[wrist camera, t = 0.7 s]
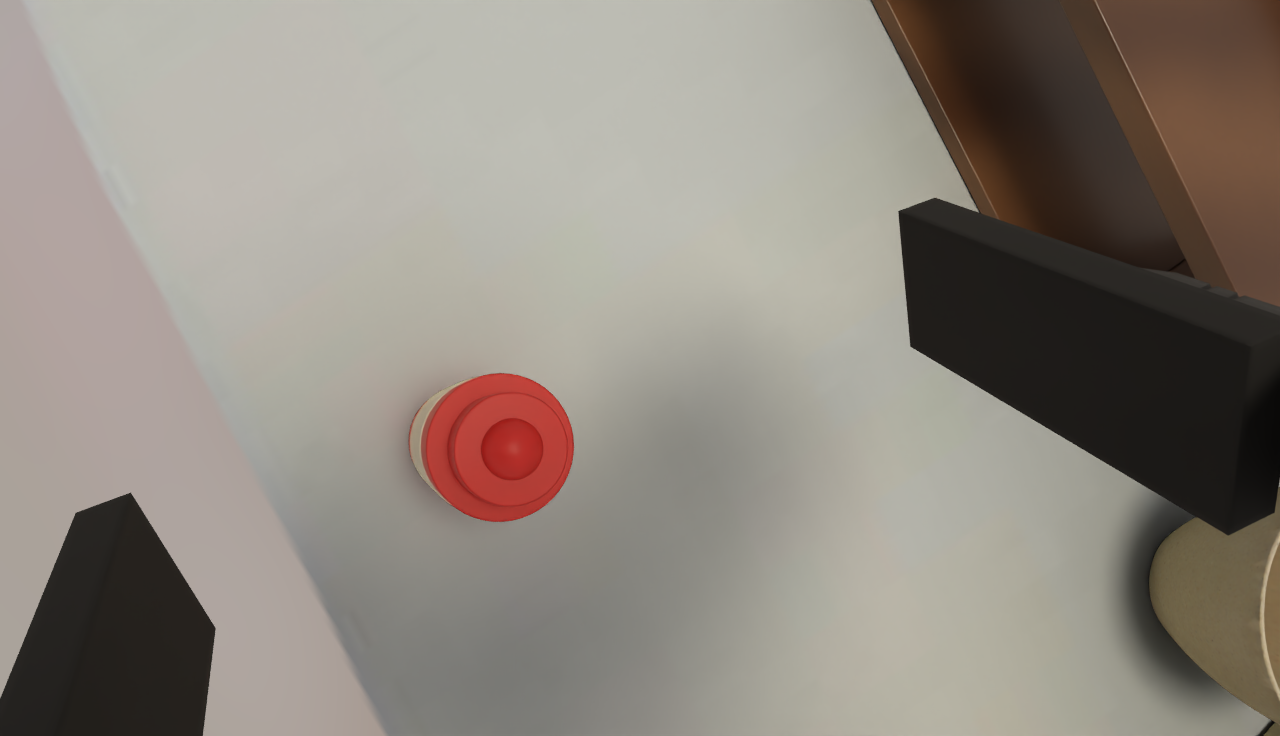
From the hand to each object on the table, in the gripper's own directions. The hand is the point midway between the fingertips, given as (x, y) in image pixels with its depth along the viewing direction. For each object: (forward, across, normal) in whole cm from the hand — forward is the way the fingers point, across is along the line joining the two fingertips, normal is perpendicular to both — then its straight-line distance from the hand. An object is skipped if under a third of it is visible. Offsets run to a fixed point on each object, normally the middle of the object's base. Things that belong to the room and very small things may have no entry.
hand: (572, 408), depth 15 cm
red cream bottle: (+14, -2, -8) cm, 16 cm away
